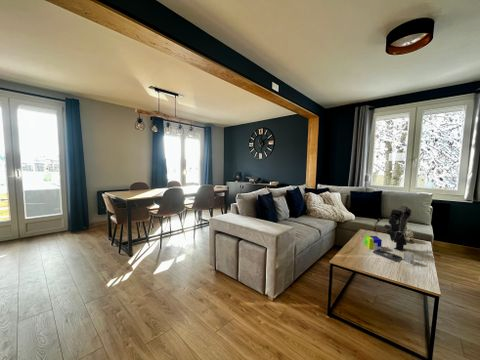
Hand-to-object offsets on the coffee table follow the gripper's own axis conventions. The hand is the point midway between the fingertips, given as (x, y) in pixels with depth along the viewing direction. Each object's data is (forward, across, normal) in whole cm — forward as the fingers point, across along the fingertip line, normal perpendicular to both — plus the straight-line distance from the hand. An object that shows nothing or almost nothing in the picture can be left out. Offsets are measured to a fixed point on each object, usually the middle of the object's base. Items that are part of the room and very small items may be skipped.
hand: (394, 240), depth 177 cm
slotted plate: (+12, +11, 0) cm, 17 cm away
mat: (+12, +8, +14) cm, 20 cm away
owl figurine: (+13, -45, -12) cm, 48 cm away
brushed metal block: (+12, +8, +14) cm, 20 cm away
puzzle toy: (+13, +4, -16) cm, 21 cm away
